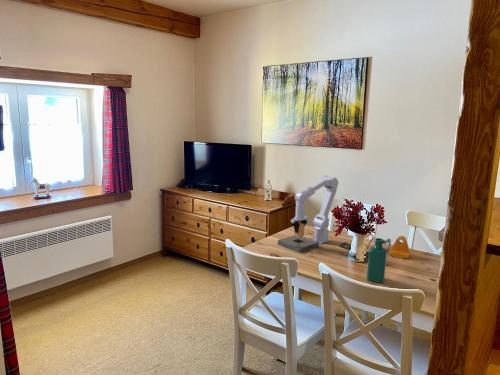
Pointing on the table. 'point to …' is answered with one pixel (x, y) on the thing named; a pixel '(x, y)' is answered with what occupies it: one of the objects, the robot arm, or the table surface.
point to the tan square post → (300, 230)
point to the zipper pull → (350, 249)
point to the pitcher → (377, 261)
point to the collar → (298, 243)
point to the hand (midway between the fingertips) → (299, 231)
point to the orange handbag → (400, 248)
